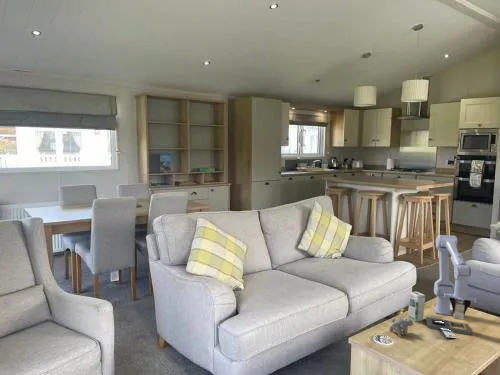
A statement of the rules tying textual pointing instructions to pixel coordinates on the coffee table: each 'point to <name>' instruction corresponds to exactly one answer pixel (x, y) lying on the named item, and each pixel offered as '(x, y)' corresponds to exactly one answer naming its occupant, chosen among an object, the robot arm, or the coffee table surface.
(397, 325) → the gray elephant figurine
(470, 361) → the coffee table surface
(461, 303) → the peg
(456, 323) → the rail
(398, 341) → the coffee table surface
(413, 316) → the syrup box
